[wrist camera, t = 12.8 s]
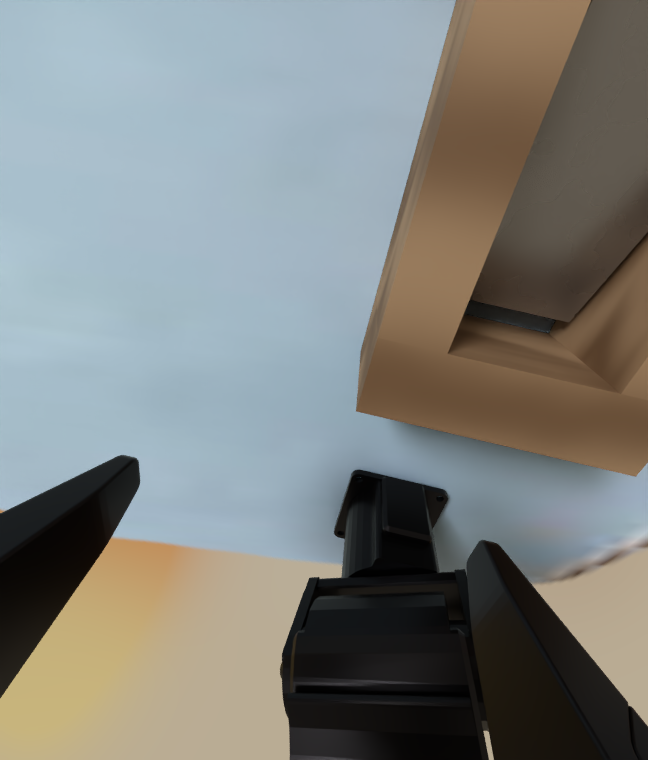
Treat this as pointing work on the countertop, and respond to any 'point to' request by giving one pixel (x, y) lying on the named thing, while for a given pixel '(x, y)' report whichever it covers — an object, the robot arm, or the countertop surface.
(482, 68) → the walnut frame
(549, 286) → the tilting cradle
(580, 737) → the robot arm
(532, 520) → the countertop surface
